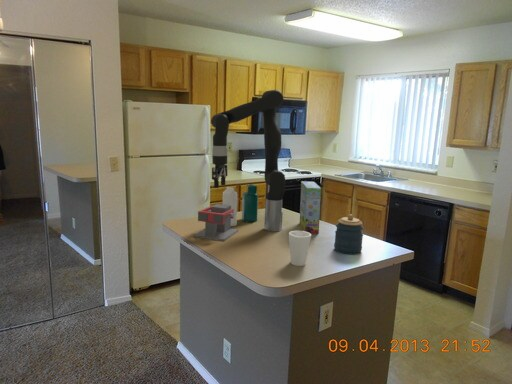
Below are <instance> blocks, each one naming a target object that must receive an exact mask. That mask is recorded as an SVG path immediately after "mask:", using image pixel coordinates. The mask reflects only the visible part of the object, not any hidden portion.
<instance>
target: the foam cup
mask: <svg viewBox="0 0 512 384" xmlns="http://www.w3.org/2000/svg"><path fill="white" fill-rule="evenodd" d="M288 241H289V255H290V257H289V258H290V264H292V265H293V266H297V267H299V266H300V267H302V266H306V263H307V259H308V258H307V257H308V254H309V248H310V243H311V241H312V234H310V233H309V232H305V231H303V230H291V231H289V233H288Z"/></svg>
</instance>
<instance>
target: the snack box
mask: <svg viewBox="0 0 512 384" xmlns="http://www.w3.org/2000/svg"><path fill="white" fill-rule="evenodd" d="M321 197H322V188H321V186H320V185H318V184H317V183H316V182H315V181H306V180H304V181H303V180H302V181H301V182H300V205H299V225H300V226H301V229H302V231H305V232H309V233H310V234H311V235H314V234H315V235H319V233H320V232H319V231H320V218H321V217H320V215H321V201H322V200H321V199H322V198H321Z"/></svg>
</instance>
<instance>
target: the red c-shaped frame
mask: <svg viewBox="0 0 512 384" xmlns="http://www.w3.org/2000/svg"><path fill="white" fill-rule="evenodd" d="M212 206H213V205H212ZM212 206H211V205H210V206H208V207H205V208H204V209H201V210H198V211H197V222H202V223H205V222H210V223H217V224H225V216H227V215H229V214H230V213H234V209H230V210H228V211H226V212H224V213H214V212H207V211H209V210H211V207H212ZM231 218H232V219H233V218H234V216H233V217H231Z"/></svg>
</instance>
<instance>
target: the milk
mask: <svg viewBox="0 0 512 384" xmlns="http://www.w3.org/2000/svg"><path fill="white" fill-rule="evenodd" d="M222 204H223V205H231V209H234V218H233V219H232V218H231V227H234V226H237V219H238V217H237V216H238V192H236V191H235V187H232V186H226V189H225V190H224V191H223V192H222Z"/></svg>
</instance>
